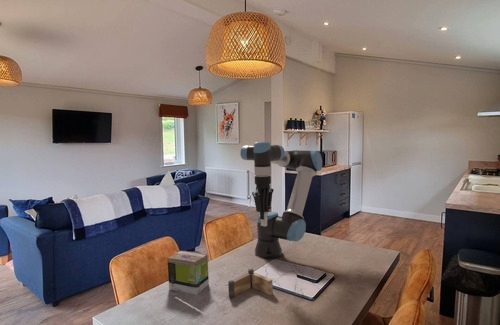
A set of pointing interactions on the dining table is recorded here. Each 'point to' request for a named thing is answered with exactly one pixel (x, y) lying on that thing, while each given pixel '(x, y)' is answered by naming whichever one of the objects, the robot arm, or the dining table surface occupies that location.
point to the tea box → (188, 272)
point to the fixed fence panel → (239, 285)
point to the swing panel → (260, 282)
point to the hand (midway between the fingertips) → (264, 225)
